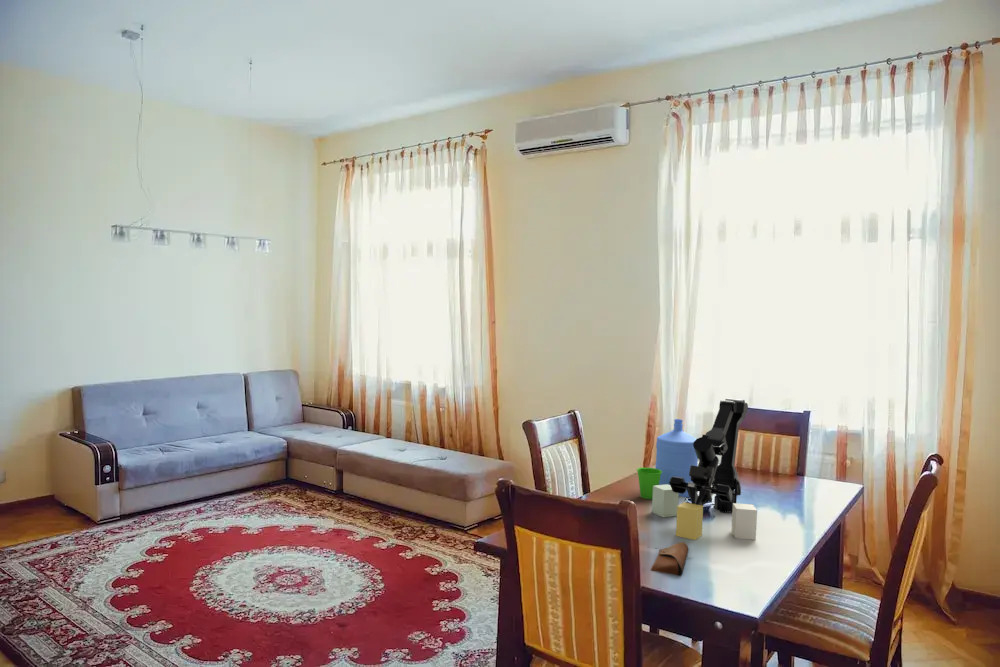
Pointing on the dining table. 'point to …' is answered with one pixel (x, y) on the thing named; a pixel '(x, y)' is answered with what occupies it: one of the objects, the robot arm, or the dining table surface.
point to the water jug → (675, 455)
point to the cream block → (744, 521)
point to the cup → (648, 481)
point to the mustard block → (689, 520)
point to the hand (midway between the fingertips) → (693, 512)
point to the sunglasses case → (671, 559)
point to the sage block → (664, 501)
